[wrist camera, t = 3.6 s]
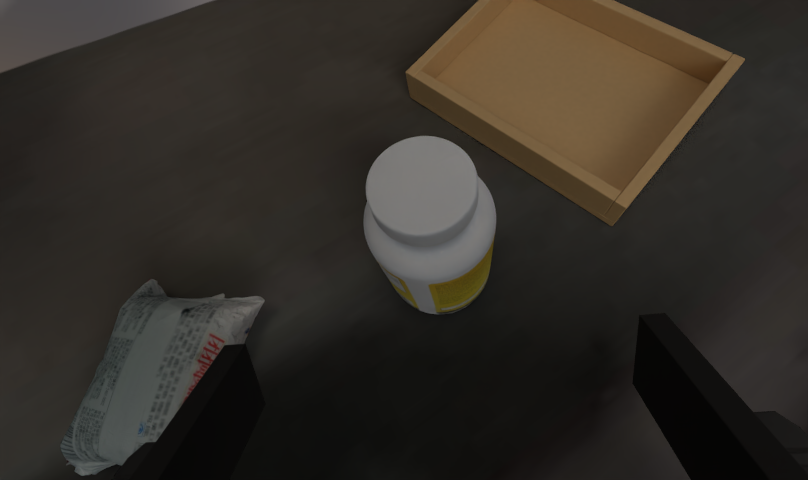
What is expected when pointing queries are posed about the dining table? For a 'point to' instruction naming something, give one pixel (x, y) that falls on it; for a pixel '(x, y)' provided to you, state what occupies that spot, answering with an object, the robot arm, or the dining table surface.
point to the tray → (572, 91)
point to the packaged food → (151, 371)
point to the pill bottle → (430, 223)
